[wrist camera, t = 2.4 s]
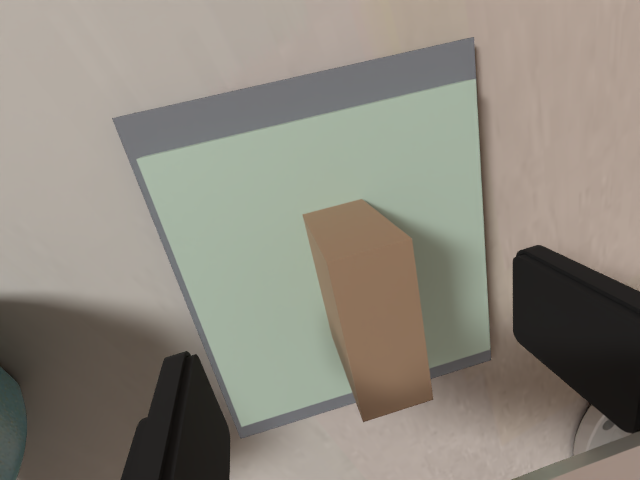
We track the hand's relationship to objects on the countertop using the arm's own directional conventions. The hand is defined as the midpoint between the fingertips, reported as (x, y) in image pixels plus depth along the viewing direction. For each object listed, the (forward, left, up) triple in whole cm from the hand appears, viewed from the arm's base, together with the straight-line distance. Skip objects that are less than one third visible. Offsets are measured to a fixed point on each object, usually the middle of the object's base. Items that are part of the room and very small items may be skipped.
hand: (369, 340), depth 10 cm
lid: (-1, -1, -7) cm, 6 cm away
